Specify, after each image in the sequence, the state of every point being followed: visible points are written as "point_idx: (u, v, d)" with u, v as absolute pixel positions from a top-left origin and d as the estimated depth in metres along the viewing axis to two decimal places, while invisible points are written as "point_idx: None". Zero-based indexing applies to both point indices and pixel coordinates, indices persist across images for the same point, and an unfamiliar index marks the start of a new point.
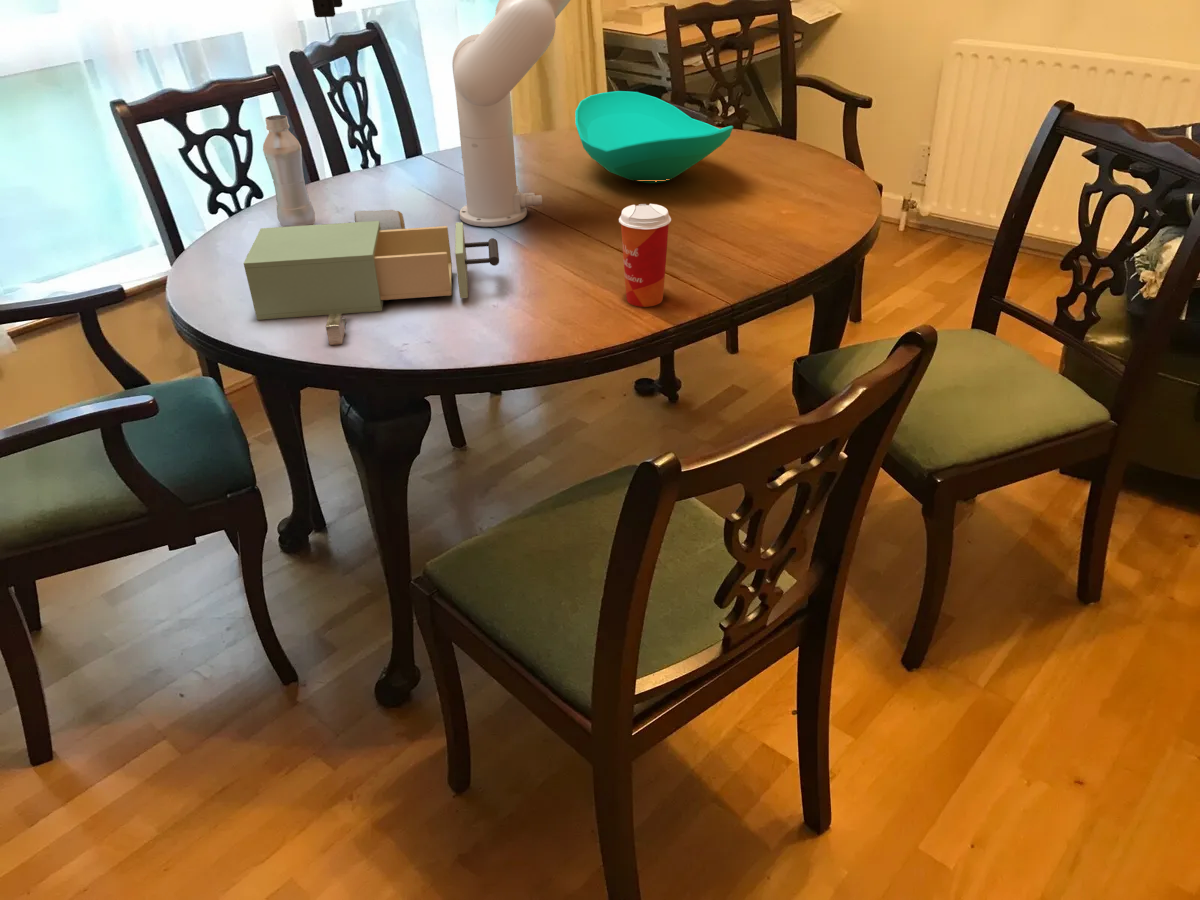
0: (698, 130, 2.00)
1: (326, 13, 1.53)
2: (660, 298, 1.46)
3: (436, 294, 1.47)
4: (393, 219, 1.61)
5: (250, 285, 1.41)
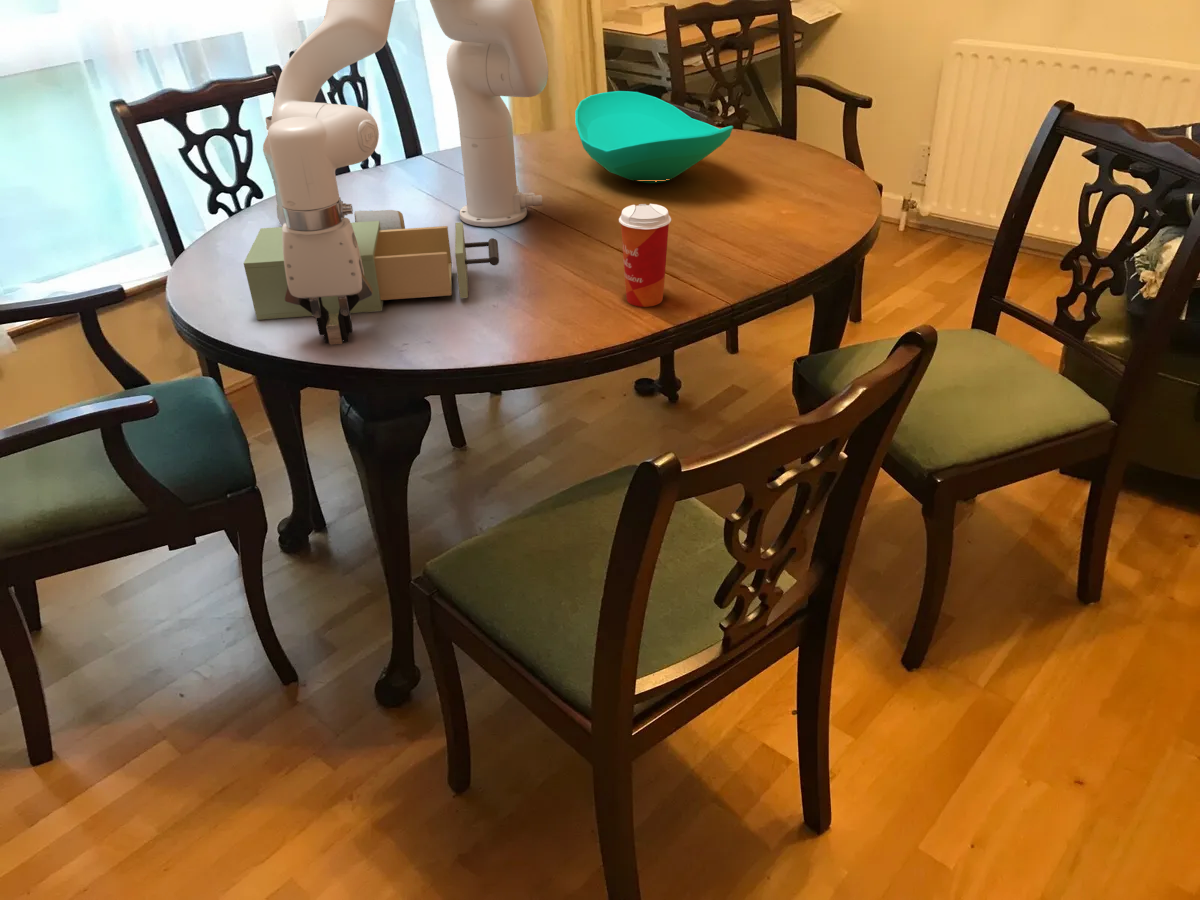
0: (698, 130, 2.00)
1: (347, 333, 1.39)
2: (660, 298, 1.46)
3: (436, 294, 1.47)
4: (393, 219, 1.61)
5: (250, 285, 1.41)
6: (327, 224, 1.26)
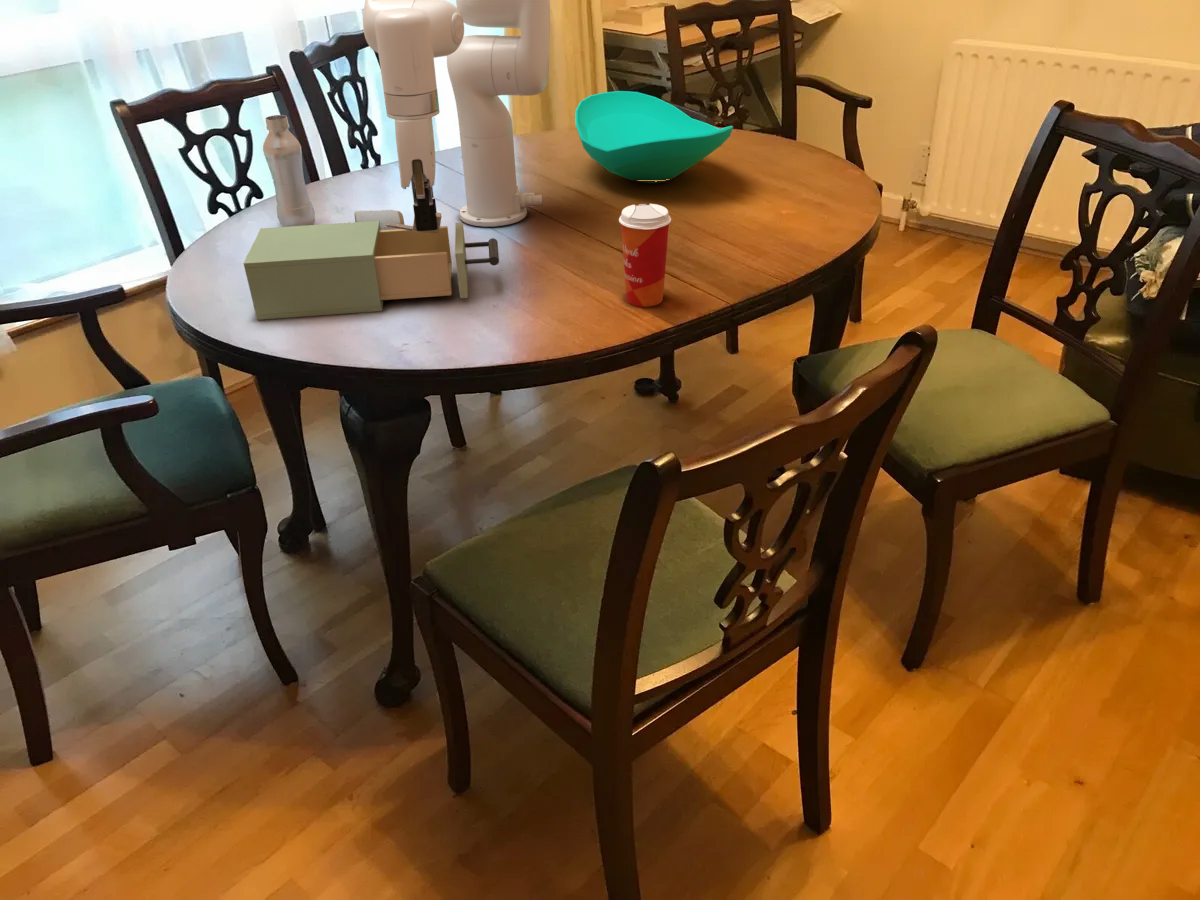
0: (698, 130, 2.00)
1: None
2: (660, 298, 1.46)
3: (436, 294, 1.47)
4: (393, 219, 1.61)
5: (250, 285, 1.41)
6: None
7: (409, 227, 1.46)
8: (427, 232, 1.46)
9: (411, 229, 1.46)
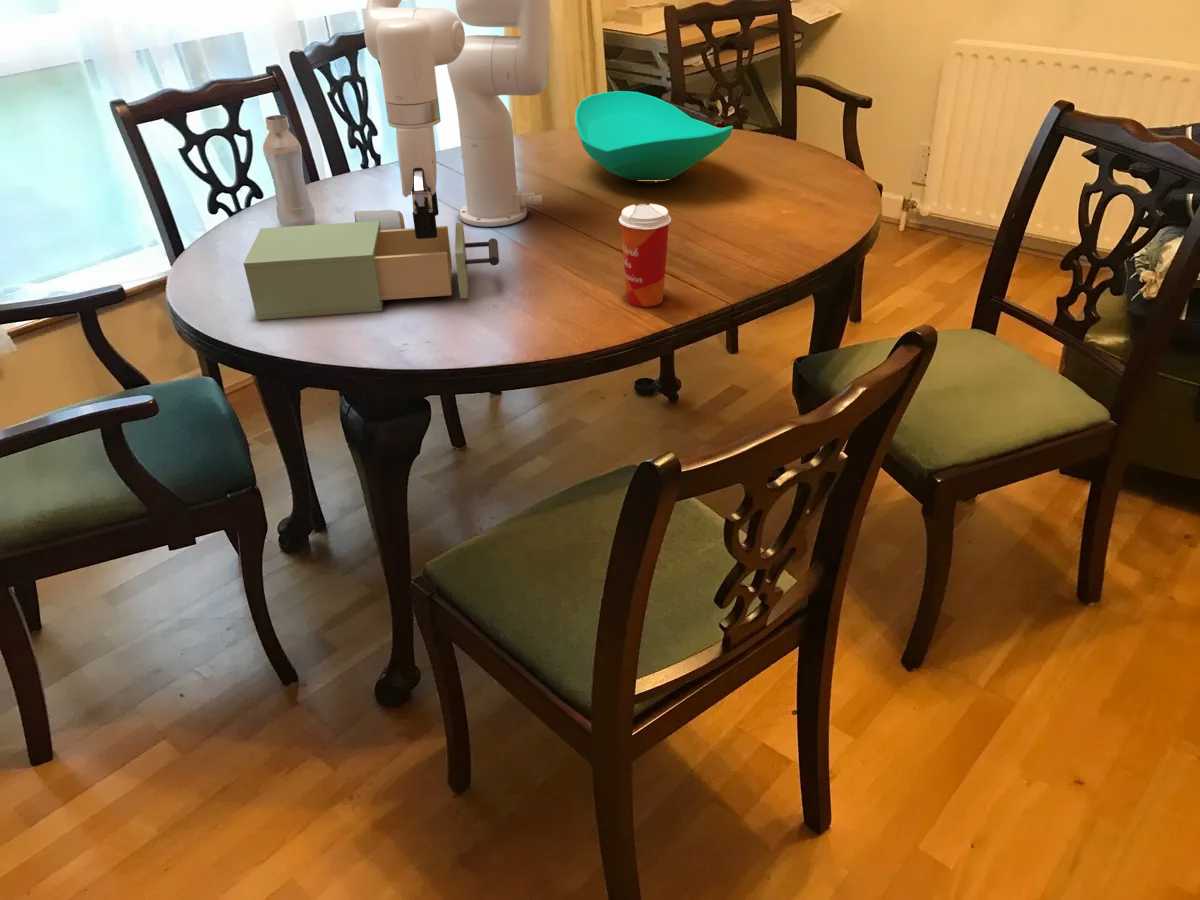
0: (698, 130, 2.00)
1: None
2: (660, 298, 1.46)
3: (436, 294, 1.47)
4: (393, 219, 1.61)
5: (250, 285, 1.41)
6: None
7: None
8: None
9: None
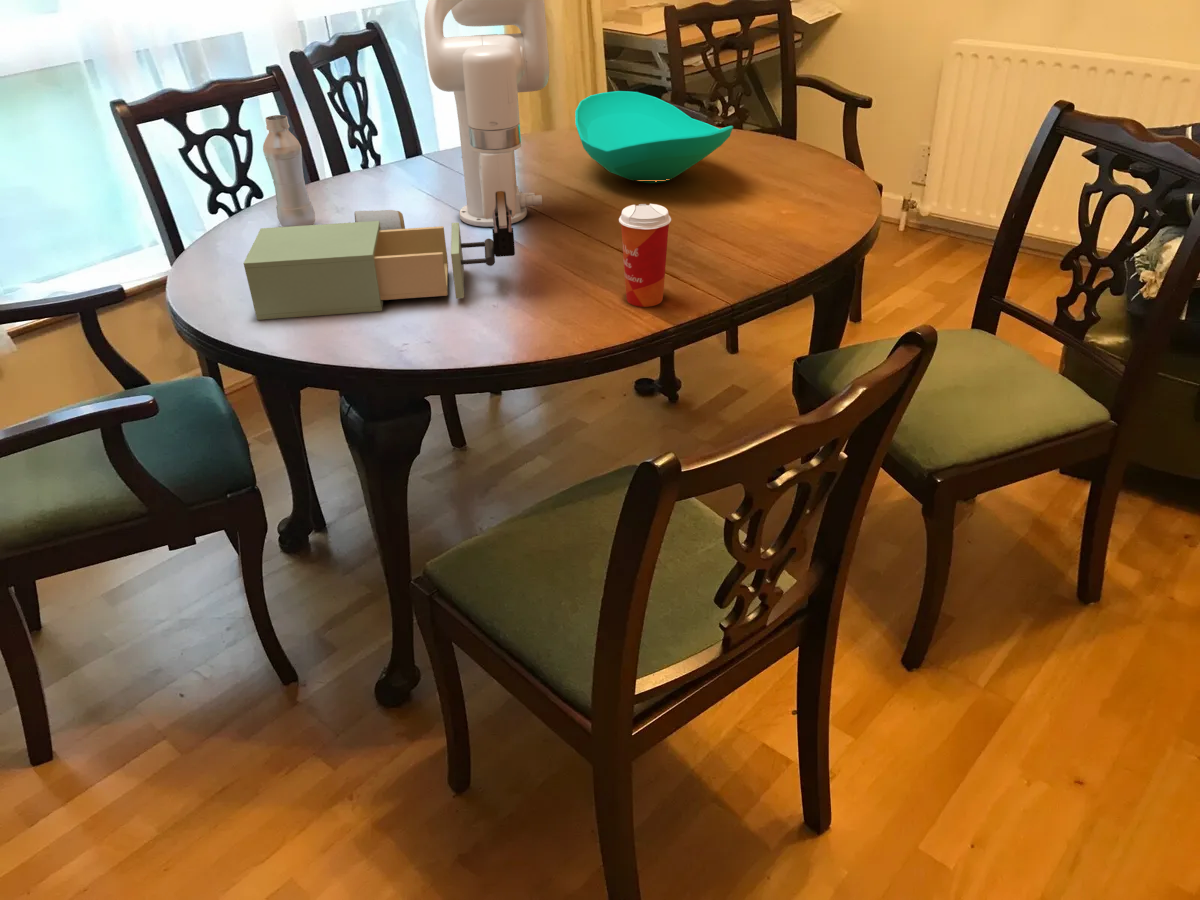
0: (698, 130, 2.00)
1: None
2: (660, 298, 1.46)
3: (432, 294, 1.47)
4: (393, 219, 1.61)
5: (250, 285, 1.41)
6: None
7: None
8: None
9: None
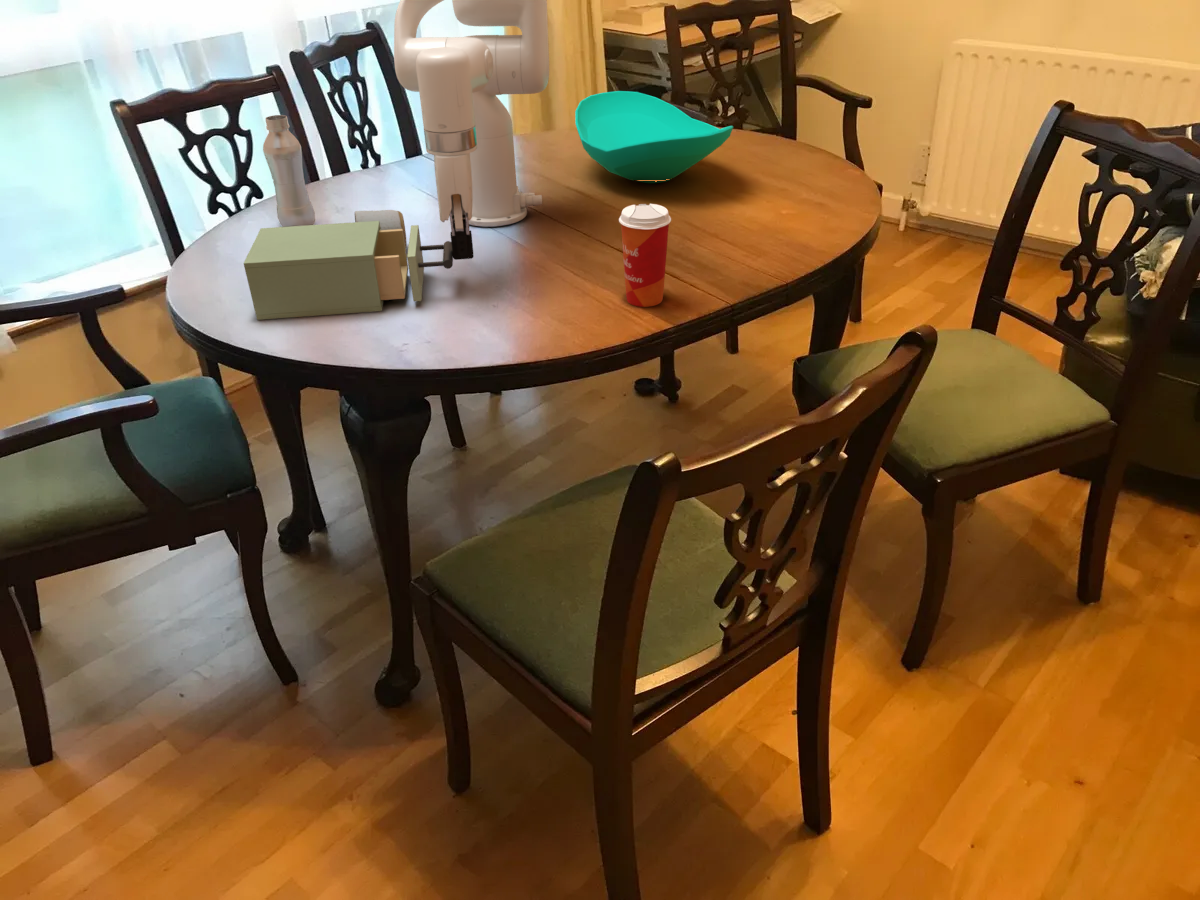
0: (698, 130, 2.00)
1: None
2: (660, 298, 1.46)
3: (389, 297, 1.46)
4: (393, 219, 1.61)
5: (250, 285, 1.41)
6: None
7: None
8: None
9: None
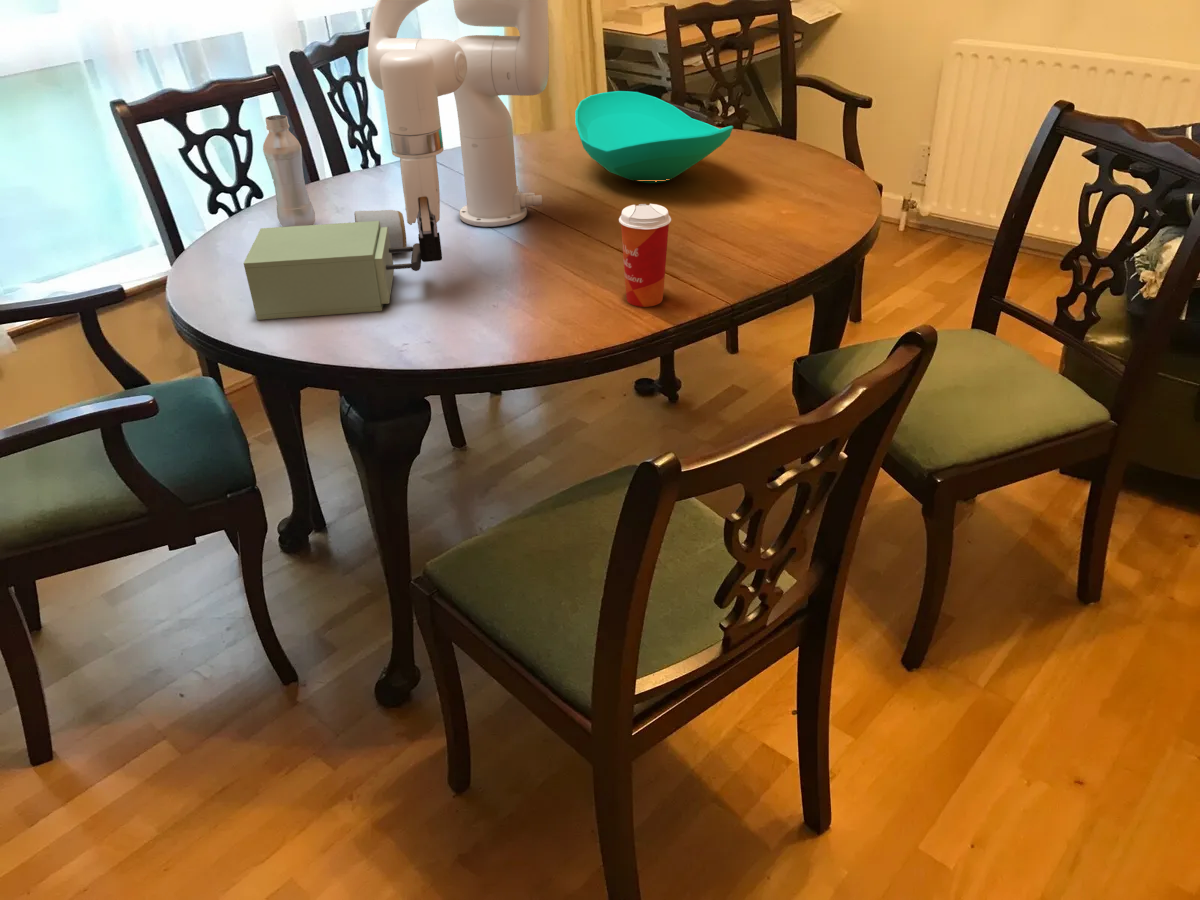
0: (698, 130, 2.00)
1: None
2: (660, 298, 1.46)
3: None
4: (393, 219, 1.61)
5: (250, 285, 1.41)
6: None
7: None
8: None
9: None
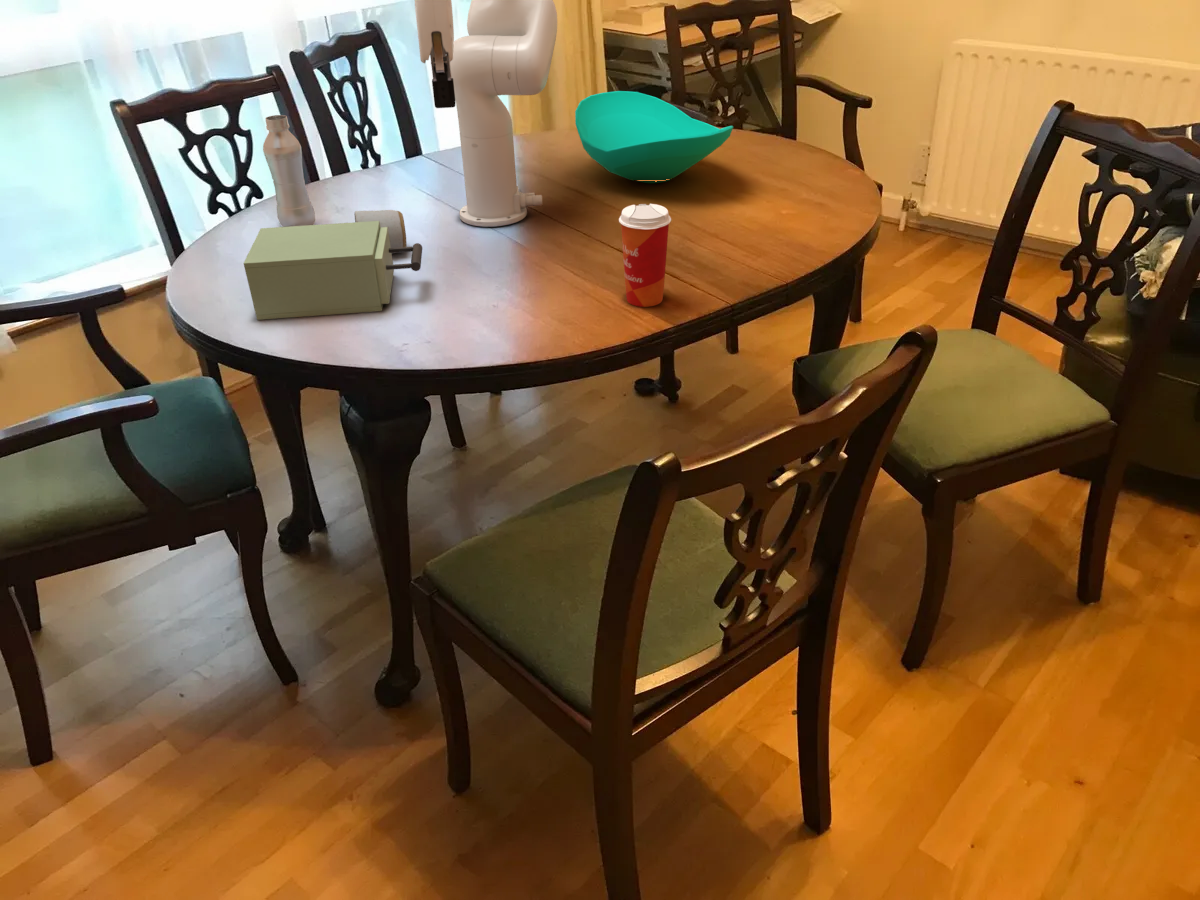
0: (698, 130, 2.00)
1: None
2: (660, 298, 1.46)
3: None
4: (393, 219, 1.61)
5: (250, 285, 1.41)
6: None
7: None
8: None
9: None
